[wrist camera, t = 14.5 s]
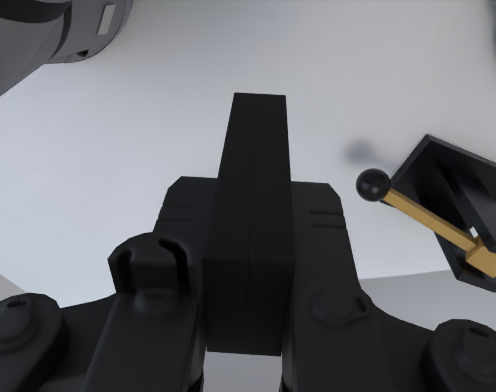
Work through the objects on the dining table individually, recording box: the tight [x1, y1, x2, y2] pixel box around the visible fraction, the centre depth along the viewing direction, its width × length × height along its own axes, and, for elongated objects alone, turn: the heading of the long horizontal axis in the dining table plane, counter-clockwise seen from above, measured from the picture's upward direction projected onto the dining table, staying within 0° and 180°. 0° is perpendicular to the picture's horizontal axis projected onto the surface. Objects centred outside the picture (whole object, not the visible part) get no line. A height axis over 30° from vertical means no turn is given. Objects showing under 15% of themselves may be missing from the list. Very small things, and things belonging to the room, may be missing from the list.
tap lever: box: [356, 168, 496, 278], centre depth 37 cm, size 15×3×3 cm, turn 68°
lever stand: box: [380, 134, 496, 293], centre depth 39 cm, size 12×9×13 cm
